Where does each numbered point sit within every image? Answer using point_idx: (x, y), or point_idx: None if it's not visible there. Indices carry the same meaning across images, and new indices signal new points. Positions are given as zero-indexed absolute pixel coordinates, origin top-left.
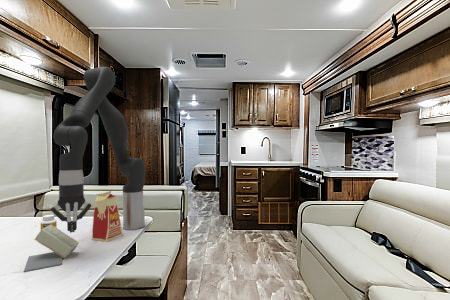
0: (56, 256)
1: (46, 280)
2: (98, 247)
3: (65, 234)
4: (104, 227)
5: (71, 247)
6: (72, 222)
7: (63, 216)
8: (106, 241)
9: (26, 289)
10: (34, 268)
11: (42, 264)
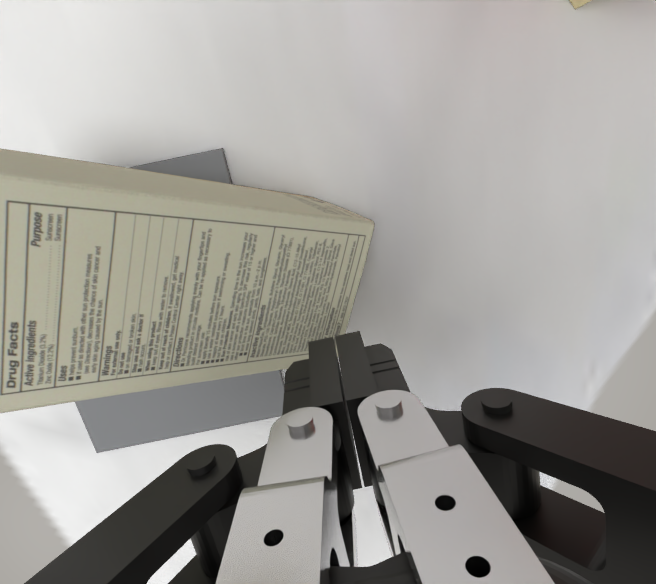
0: None
1: None
2: (503, 150)
3: (241, 225)
4: None
5: None
6: (367, 479)
7: (210, 522)
8: (580, 6)
9: None
10: (146, 436)
11: (171, 392)
